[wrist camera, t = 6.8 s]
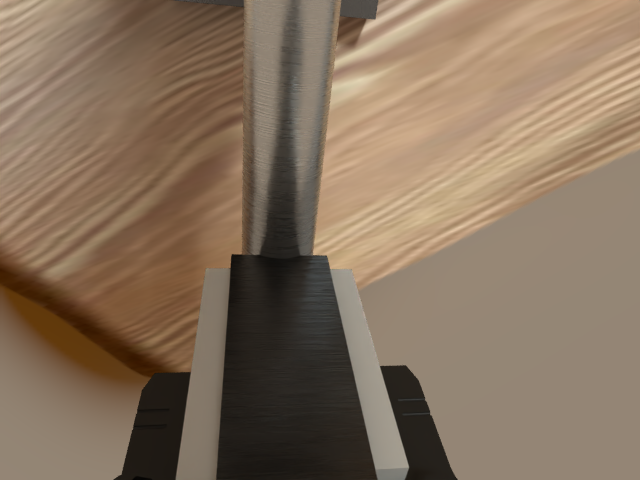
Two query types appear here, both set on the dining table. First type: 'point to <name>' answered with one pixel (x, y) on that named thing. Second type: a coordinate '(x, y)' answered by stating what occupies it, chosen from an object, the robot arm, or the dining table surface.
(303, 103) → the shaft
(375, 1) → the shaft stand
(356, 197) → the dining table surface
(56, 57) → the dining table surface
